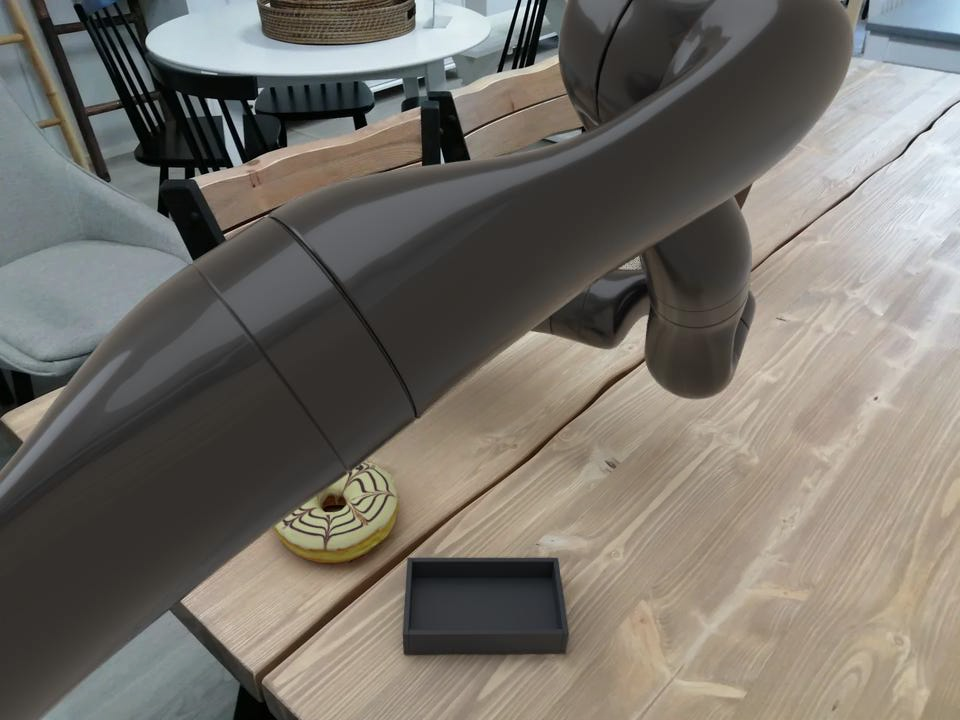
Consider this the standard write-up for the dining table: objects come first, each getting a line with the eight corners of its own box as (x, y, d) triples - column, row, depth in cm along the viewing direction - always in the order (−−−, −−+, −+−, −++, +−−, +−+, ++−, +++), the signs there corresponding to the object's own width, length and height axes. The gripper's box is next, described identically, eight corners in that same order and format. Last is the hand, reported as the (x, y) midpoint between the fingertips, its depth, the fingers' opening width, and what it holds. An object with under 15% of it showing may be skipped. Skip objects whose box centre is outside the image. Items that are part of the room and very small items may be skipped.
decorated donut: (345, 461, 70) (342, 430, 67) (423, 522, 64) (423, 491, 62) (248, 520, 63) (242, 489, 61) (326, 594, 57) (322, 562, 55)
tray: (403, 655, 53) (402, 634, 52) (408, 577, 59) (407, 557, 58) (565, 654, 54) (569, 633, 53) (555, 577, 59) (558, 557, 58)
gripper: (553, 216, 70) (403, 181, 76) (484, 282, 59) (316, 235, 65) (547, 286, 74) (406, 247, 80) (481, 358, 64) (324, 308, 70)
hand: (366, 242), depth 73 cm, fingers closed on cup, 6 cm apart
